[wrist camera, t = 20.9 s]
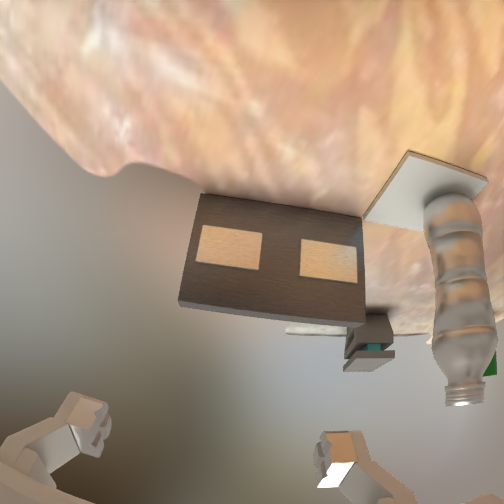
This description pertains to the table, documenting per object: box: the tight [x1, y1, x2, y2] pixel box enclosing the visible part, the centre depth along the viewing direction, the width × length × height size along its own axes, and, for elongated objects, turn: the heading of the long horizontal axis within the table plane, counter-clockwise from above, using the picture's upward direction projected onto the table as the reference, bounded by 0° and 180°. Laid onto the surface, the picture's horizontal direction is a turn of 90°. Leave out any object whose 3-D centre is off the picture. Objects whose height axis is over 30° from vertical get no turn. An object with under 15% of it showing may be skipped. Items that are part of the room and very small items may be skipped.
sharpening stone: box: [343, 315, 395, 372], centre depth 70 cm, size 25×8×11 cm, turn 10°
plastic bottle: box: [423, 193, 498, 406], centre depth 25 cm, size 6×7×20 cm
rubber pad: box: [363, 151, 488, 232], centre depth 30 cm, size 11×10×1 cm
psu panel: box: [178, 193, 366, 328], centre depth 33 cm, size 2×18×12 cm, turn 85°
